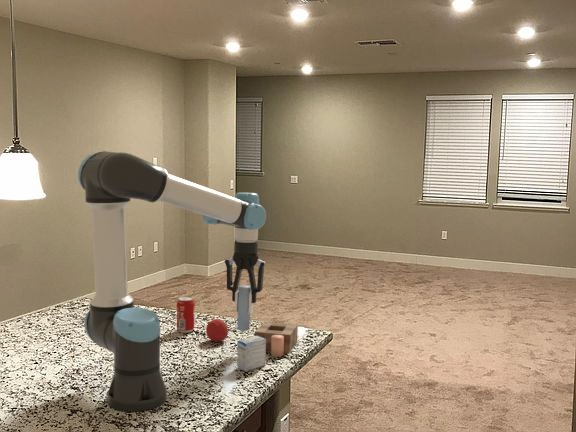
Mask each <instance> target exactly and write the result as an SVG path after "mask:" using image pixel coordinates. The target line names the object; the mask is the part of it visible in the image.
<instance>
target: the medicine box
mask: <svg viewBox="0 0 576 432" xmlns="http://www.w3.org/2000/svg"><path fill="white" fill-rule="evenodd" d="M236 346H237V350H236V351H237V356H236V359H237V361H236V363H237V365H236V367H237V369H239V370H242V371H244V372H249V371H252V370H254V369H255V370H256V369H258V368H261V367H264V366H266V353H267V352H266V351H267V350H266V339H264V338H262V337H259V336H255V335H253V336H250V337H246V338H243V339H239V340H237V345H236Z"/></svg>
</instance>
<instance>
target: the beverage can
mask: <svg viewBox="0 0 576 432" xmlns="http://www.w3.org/2000/svg"><path fill="white" fill-rule="evenodd" d="M195 305H196V304H195V301H194V299H193V297H192V296H191V297H190V296H181V297H179V298H178V300H177V302H176V330H177V331H178V332H179V333H185V334H187V333H192V332H193V330H194V329H195Z"/></svg>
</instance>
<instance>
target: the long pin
mask: <svg viewBox="0 0 576 432" xmlns="http://www.w3.org/2000/svg"><path fill="white" fill-rule="evenodd" d="M237 291H238V312H237V320H236V321H237V324H236V325H237V327H236V329H237V330H238V331H241V332H245V331H250V325H251V323H250V322H251V321H250V320H251V318H250V316H251V314H248V313H249V293H251V286H250V285H245V284H244V285H239V286H238V290H237Z"/></svg>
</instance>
